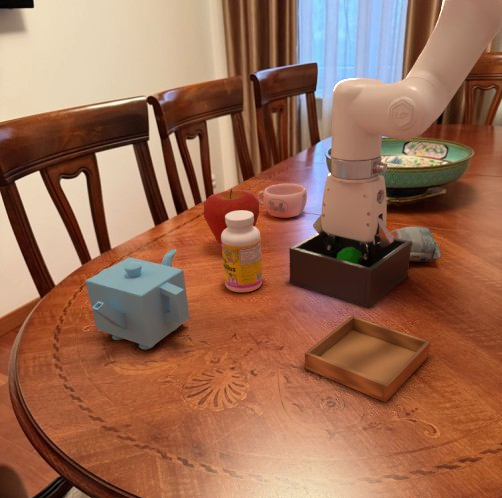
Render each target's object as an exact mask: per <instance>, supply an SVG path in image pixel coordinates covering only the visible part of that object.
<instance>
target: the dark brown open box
mask: <svg viewBox="0 0 502 498" xmlns="http://www.w3.org/2000/svg"><path fill="white" fill-rule="evenodd" d="M392 238H393V237H392ZM374 239H375V244H377V243H378V242H380V237H379V236H378V235H374ZM393 240H394V241H393V243H392V244H390V245H389V246H387V247H385V248H383V249H381V250H380V251H378V252H377V253H376V254H374V255H373V264H372V266H371V267H370V268H369V267H366V266H362V265H358V264H354V263H351V262H347V261H343V260H339V259H336V258H332V257H328V252H329V250H327V249H326V244H325V243H324V241H323V240H322V238H321V237H320V234H319V233H318V232H316V233H315V234H313V235H311V236H309V237H307V238H305V239H303V240H302V241H300V242H298V243H297V244H295V245H292V246H291V247H289V248H288V249H289V251H288V252H289V254H288V255H289V284H291V285H294V286H298V287H301V288H304V289H307V290H310V291H313V292H317V293H320V294H323V295H327V296H329V297H333V298H335V299H338V300H341V301H345V302H347V303H351V304H354V305H358V306H361V307H364V308H366V309H369V308H371V307H372V306H373V305H374V304H375V303H377V302H378V301H379V300H381V299H382V298H383V297H384V296H386V295H387V294H388V293H390V292H391V291H392V290H393V289H395V288H396V287H397V286H398V285H399V284H401V283H402V282H404V280H405V279H407V278H408V276H409V268H410V261H409V260H410V252H411V244H412V242H410V241H406V240H401V239H397V238H393ZM340 245H342V249H343V248H346V247H354V248H355V249H357V250H358V251H360V252H361V248H360V244H359V241H356V240H351V239H347V238H343V237H342V238H341V241H340Z"/></svg>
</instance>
